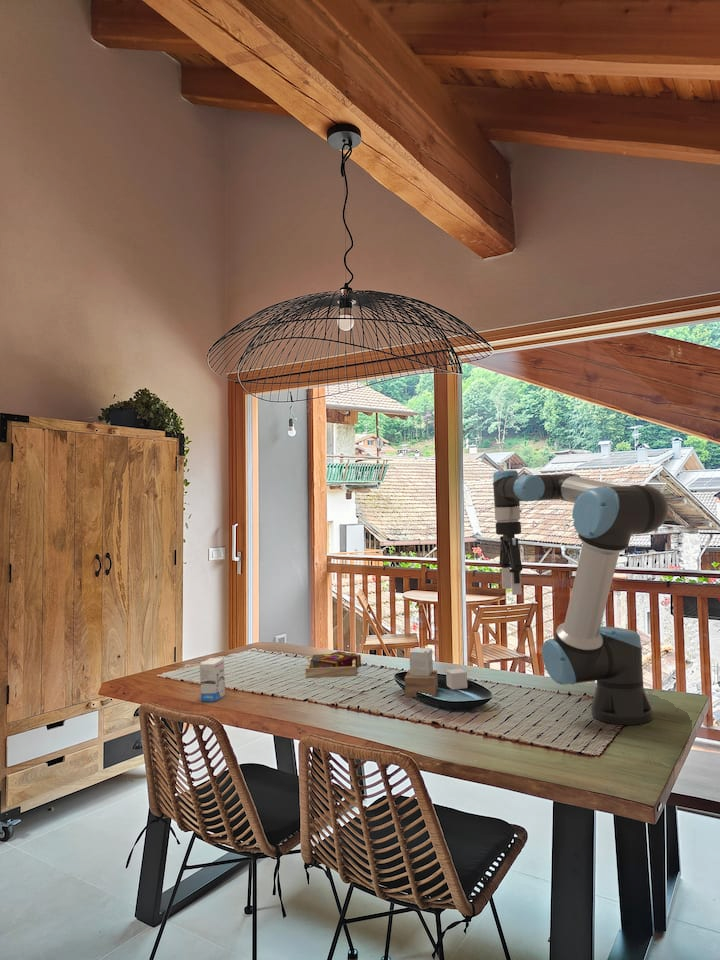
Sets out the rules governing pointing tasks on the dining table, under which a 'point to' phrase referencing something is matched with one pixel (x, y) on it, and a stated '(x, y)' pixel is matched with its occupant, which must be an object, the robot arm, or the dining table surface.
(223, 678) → the ink box
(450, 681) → the grey cube
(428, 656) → the skincare box
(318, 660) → the decorative book
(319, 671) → the book frame
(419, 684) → the walnut block
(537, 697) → the dining table surface
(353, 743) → the dining table surface
